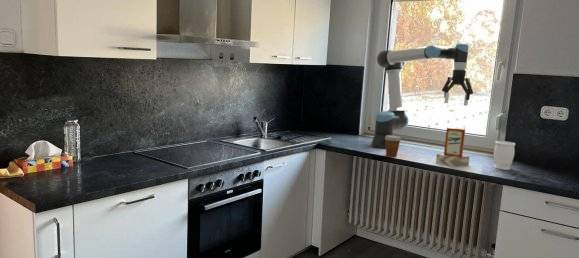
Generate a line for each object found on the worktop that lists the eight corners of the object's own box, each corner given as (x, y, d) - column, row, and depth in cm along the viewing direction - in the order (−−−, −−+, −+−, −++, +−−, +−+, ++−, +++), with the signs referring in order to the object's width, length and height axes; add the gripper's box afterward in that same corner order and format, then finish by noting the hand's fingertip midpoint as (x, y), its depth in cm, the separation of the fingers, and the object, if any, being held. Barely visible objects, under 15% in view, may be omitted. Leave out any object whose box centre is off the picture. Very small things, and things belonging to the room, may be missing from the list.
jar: (495, 165, 262) (498, 140, 259) (514, 168, 255) (517, 142, 253) (489, 168, 254) (492, 141, 251) (509, 171, 247) (512, 144, 245)
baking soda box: (443, 154, 258) (446, 127, 256) (445, 153, 264) (448, 126, 262) (461, 157, 254) (464, 129, 252) (462, 155, 260) (465, 128, 258)
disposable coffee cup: (388, 157, 268) (389, 137, 266) (380, 154, 277) (382, 134, 275) (402, 157, 270) (404, 137, 269) (394, 154, 279) (396, 135, 278)
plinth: (435, 162, 261) (436, 154, 260) (450, 160, 269) (451, 152, 268) (453, 167, 251) (454, 158, 250) (468, 164, 259) (469, 156, 258)
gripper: (481, 70, 266) (477, 106, 269) (445, 68, 286) (442, 102, 289) (474, 70, 261) (470, 106, 265) (438, 68, 281) (434, 102, 285)
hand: (455, 104), depth 277 cm, fingers open, 13 cm apart
